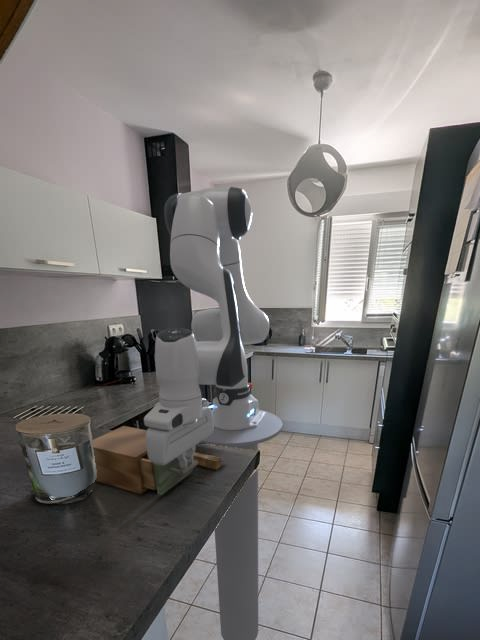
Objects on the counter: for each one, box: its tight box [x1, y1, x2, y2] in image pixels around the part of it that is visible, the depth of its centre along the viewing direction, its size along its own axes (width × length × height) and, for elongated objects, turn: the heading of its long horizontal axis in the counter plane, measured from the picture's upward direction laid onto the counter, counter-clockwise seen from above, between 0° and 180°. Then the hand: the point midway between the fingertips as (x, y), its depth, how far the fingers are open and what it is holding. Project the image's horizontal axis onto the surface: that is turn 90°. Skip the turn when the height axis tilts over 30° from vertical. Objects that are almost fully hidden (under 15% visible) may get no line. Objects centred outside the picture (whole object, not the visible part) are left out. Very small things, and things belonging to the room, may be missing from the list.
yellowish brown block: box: [193, 452, 222, 471], centre depth 95 cm, size 8×2×3 cm, turn 64°
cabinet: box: [91, 425, 150, 495], centre depth 89 cm, size 17×14×10 cm
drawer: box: [138, 454, 199, 496], centre depth 86 cm, size 20×12×8 cm, turn 64°
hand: (186, 465), depth 82 cm, fingers closed, pressing on drawer
